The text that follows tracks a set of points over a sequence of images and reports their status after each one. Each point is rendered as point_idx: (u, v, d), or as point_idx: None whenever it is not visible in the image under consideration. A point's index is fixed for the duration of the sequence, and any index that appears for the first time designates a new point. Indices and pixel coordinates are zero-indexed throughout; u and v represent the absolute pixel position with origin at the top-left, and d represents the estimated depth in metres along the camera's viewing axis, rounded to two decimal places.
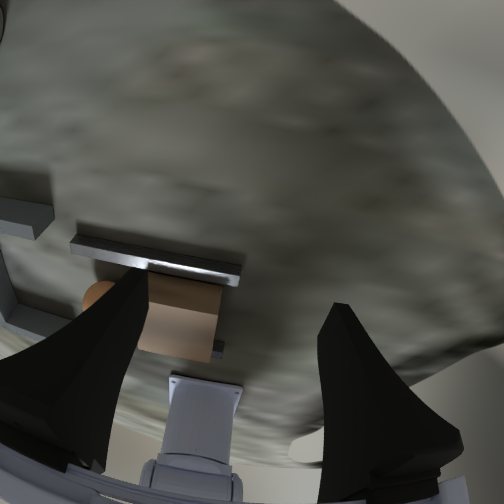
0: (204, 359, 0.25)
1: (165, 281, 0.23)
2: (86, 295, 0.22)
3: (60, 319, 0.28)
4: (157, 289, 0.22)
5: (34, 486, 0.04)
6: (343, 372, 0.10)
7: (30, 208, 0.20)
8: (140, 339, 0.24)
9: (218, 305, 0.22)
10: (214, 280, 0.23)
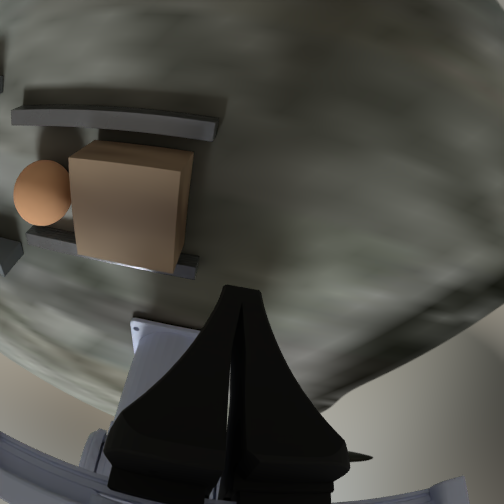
0: (165, 265, 0.17)
1: (116, 146, 0.16)
2: (19, 175, 0.15)
3: (3, 240, 0.20)
4: (103, 150, 0.15)
5: (34, 486, 0.04)
6: (239, 360, 0.10)
7: None
8: (78, 234, 0.16)
9: (183, 164, 0.15)
10: (179, 132, 0.15)
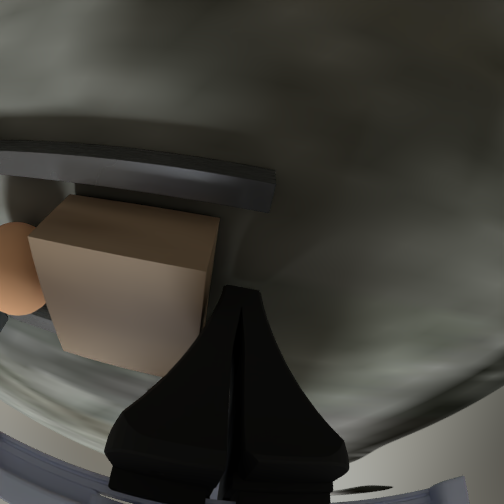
0: None
1: (100, 208, 0.10)
2: None
3: None
4: (80, 220, 0.10)
5: (34, 486, 0.04)
6: (238, 361, 0.10)
7: None
8: (60, 331, 0.11)
9: (208, 251, 0.10)
10: (216, 196, 0.10)
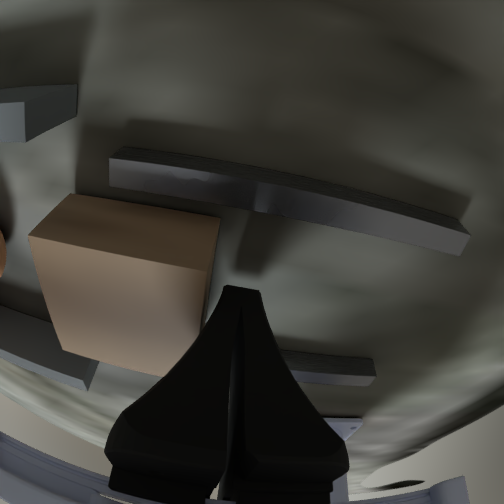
0: None
1: (101, 207, 0.10)
2: None
3: None
4: (80, 219, 0.10)
5: (34, 486, 0.04)
6: (238, 361, 0.10)
7: (27, 90, 0.08)
8: (60, 330, 0.11)
9: (208, 251, 0.10)
10: (430, 243, 0.10)
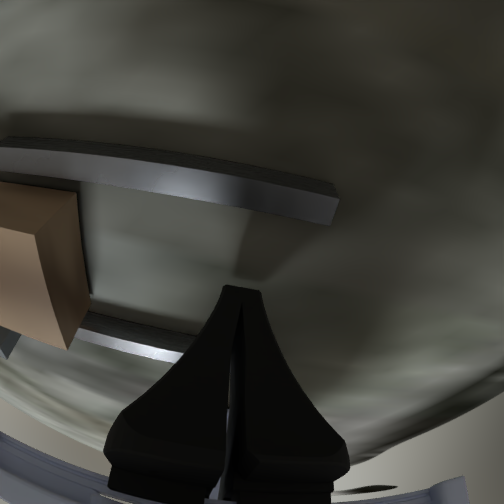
0: (56, 341, 0.11)
1: None
2: None
3: None
4: None
5: (34, 486, 0.04)
6: (239, 360, 0.10)
7: None
8: None
9: (46, 219, 0.09)
10: (280, 208, 0.10)
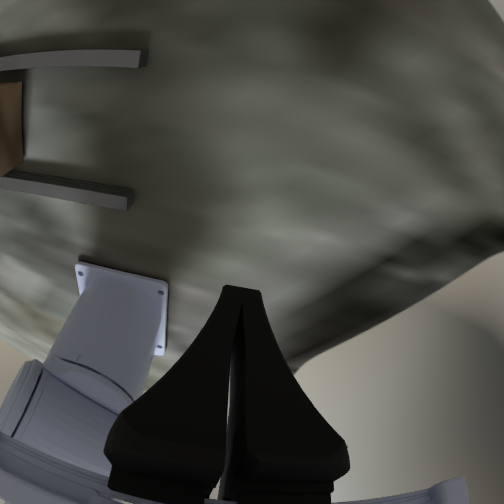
0: None
1: None
2: None
3: None
4: None
5: (34, 486, 0.04)
6: (239, 361, 0.10)
7: None
8: None
9: (1, 87, 0.13)
10: (110, 62, 0.14)
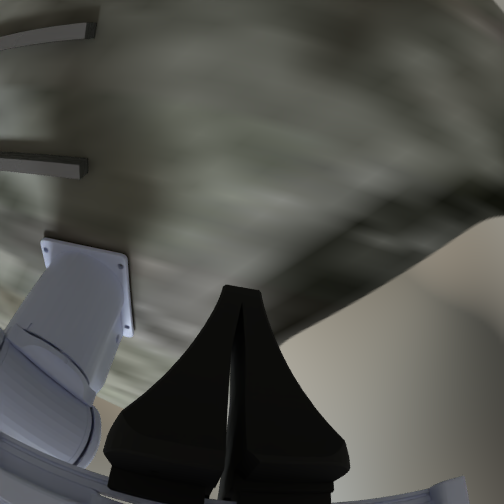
0: None
1: None
2: None
3: None
4: None
5: (34, 486, 0.04)
6: (239, 361, 0.10)
7: None
8: None
9: None
10: (61, 36, 0.13)
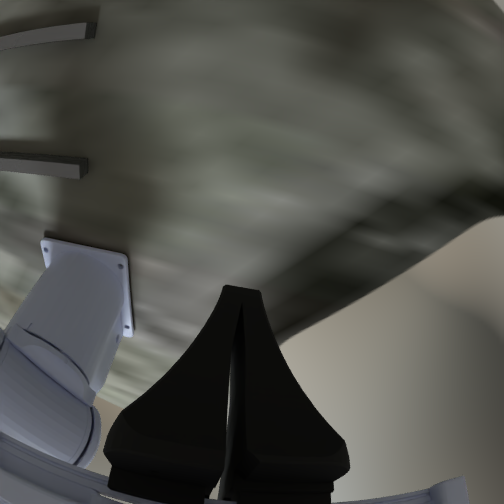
0: None
1: None
2: None
3: None
4: None
5: (34, 486, 0.04)
6: (239, 361, 0.10)
7: None
8: None
9: None
10: (61, 36, 0.13)
